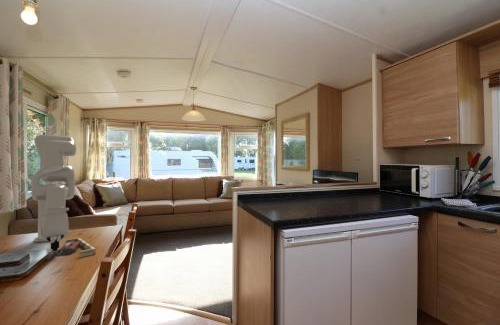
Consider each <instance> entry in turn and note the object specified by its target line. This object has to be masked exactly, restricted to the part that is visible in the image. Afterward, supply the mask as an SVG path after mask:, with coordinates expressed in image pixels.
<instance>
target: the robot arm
mask: <svg viewBox="0 0 500 325" xmlns="http://www.w3.org/2000/svg"><path fill="white" fill-rule="evenodd" d="M34 145H35V148H36V151H37V153H38V155H39V158H40V159H39V160H40V162H39V164H40V165H39V167H40V168H39V169H38V170H37V171H36V172H35V173H34V174H33V177H32V178H31V186H30V187H31V197H32V200H34V201H37V206H38V207H37V237H35V238H34V239H33V241H34V242H35V243H45V242H49V243H50V250H52V252H53V251H55V250H56V251H57V250H58V248H60V242H61V240H62V239H64V238H66V237H68V236H69V235H70V233H69V230H70V227H69V225H70V224H69V216H68V213H67V212H69V211H70V208H69V207H66V202H67V201H66V200H71V199H73V198H74V197H75V192H76V191H75V188H76V187H75V185H76V184H75V181H76V180H75V169H74V167H73V166H71V165H64V157H74V156H75V155H76V153H77V145H76V141H75V140H74V138H73V137H71V136H69V135H67V136H66V135H58V134H57V135H56V134H37V136H35V138H34ZM40 180H41V181H43V182H46V183H47V182H48V183H47V184H46V183H45V184H39V182H40ZM49 182H50V183H49ZM51 182H52V183H51ZM53 182H54V183H53ZM55 182H64V183H55Z"/></svg>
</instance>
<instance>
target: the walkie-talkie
mask: <svg viewBox="0 0 500 325" xmlns="http://www.w3.org/2000/svg"><path fill="white" fill-rule="evenodd" d="M65 243H66V242H65ZM65 243H64V245H62V246H61V247H59V248H58V250H57V251H56V250H55V251H53V250H52V252H51V254H50V255H49V256H48V257H47V258H46V260H47V261H49V260H51V259H52V258H53V257H55V256H61V255H72V254H71V253H73V254H74V253H76V252H77V251H78V250H79V248H80V247H81V245H80V242H69V243H66V244H65ZM52 253H53V254H52Z"/></svg>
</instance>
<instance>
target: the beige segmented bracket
mask: <svg viewBox="0 0 500 325" xmlns="http://www.w3.org/2000/svg"><path fill="white" fill-rule="evenodd" d="M69 242H80V247H82V248H83V250H80V251H79V257H80V258H84V257H87V256H92V255H95V254H96V253H97V252H96V250H97V249H96V247H94V246H93V245H92V244H89V243H88V242H87V241H85V240H84V239H82V238H81V237H75V238H69V239H65V243H64V245H65V244H66V243H69Z"/></svg>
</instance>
